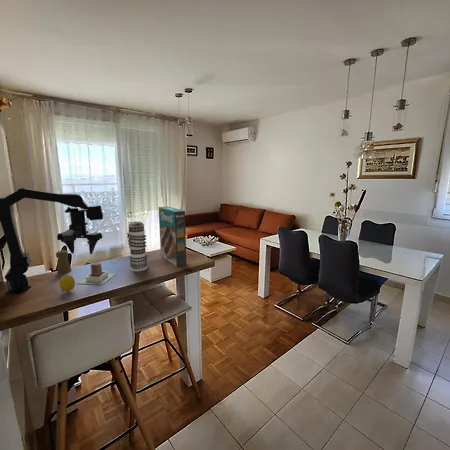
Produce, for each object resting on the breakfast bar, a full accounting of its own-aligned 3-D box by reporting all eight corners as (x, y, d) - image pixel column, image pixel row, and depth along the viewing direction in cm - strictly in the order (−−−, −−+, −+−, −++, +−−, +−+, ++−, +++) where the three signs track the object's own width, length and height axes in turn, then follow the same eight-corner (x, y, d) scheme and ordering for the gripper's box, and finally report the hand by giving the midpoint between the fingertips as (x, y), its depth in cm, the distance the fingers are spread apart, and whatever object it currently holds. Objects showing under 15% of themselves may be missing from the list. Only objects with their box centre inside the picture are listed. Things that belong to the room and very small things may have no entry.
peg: (90, 280, 116) (88, 265, 114) (95, 276, 120) (94, 262, 119) (99, 280, 116) (97, 266, 114) (104, 276, 120) (103, 262, 118)
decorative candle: (127, 267, 132) (124, 221, 127) (144, 263, 138) (141, 219, 133) (132, 273, 125) (129, 224, 120) (150, 268, 131) (148, 222, 125)
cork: (74, 269, 129) (71, 249, 126) (63, 274, 123) (60, 253, 121) (64, 268, 130) (62, 248, 128) (54, 273, 124) (51, 252, 122)
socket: (77, 283, 113) (76, 278, 112) (93, 273, 124) (92, 268, 124) (102, 285, 112) (101, 279, 111) (116, 274, 123) (115, 269, 123)
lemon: (59, 292, 105) (56, 274, 103) (74, 288, 108) (71, 271, 107) (62, 296, 101) (59, 278, 99) (77, 292, 105) (75, 274, 103)
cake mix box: (160, 255, 152) (158, 207, 146) (170, 253, 155) (168, 206, 149) (176, 266, 135) (174, 211, 128) (186, 263, 138) (184, 210, 132)
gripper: (45, 224, 107) (50, 258, 110) (86, 225, 105) (90, 260, 108) (63, 219, 117) (67, 251, 121) (101, 220, 116) (104, 252, 119)
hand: (82, 253), depth 117 cm, fingers open, 9 cm apart
